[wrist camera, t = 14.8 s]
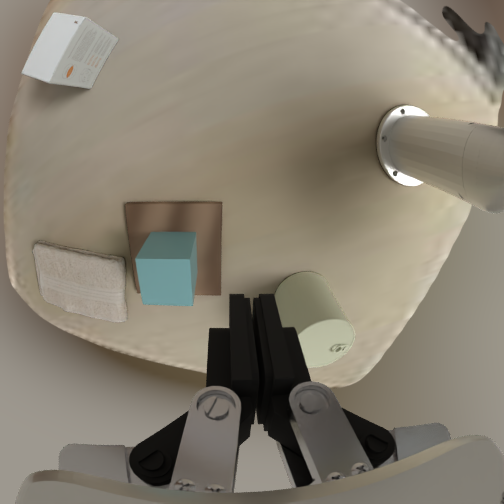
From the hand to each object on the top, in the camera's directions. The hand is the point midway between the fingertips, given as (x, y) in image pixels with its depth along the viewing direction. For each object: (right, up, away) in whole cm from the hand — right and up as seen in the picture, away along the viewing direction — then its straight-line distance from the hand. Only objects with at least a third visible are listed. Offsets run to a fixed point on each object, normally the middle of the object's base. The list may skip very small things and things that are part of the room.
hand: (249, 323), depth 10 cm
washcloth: (-28, -1, +28) cm, 40 cm away
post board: (-11, +3, +27) cm, 29 cm away
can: (+8, -4, +33) cm, 34 cm away
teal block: (-11, +3, +26) cm, 28 cm away
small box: (-21, +29, +14) cm, 38 cm away
